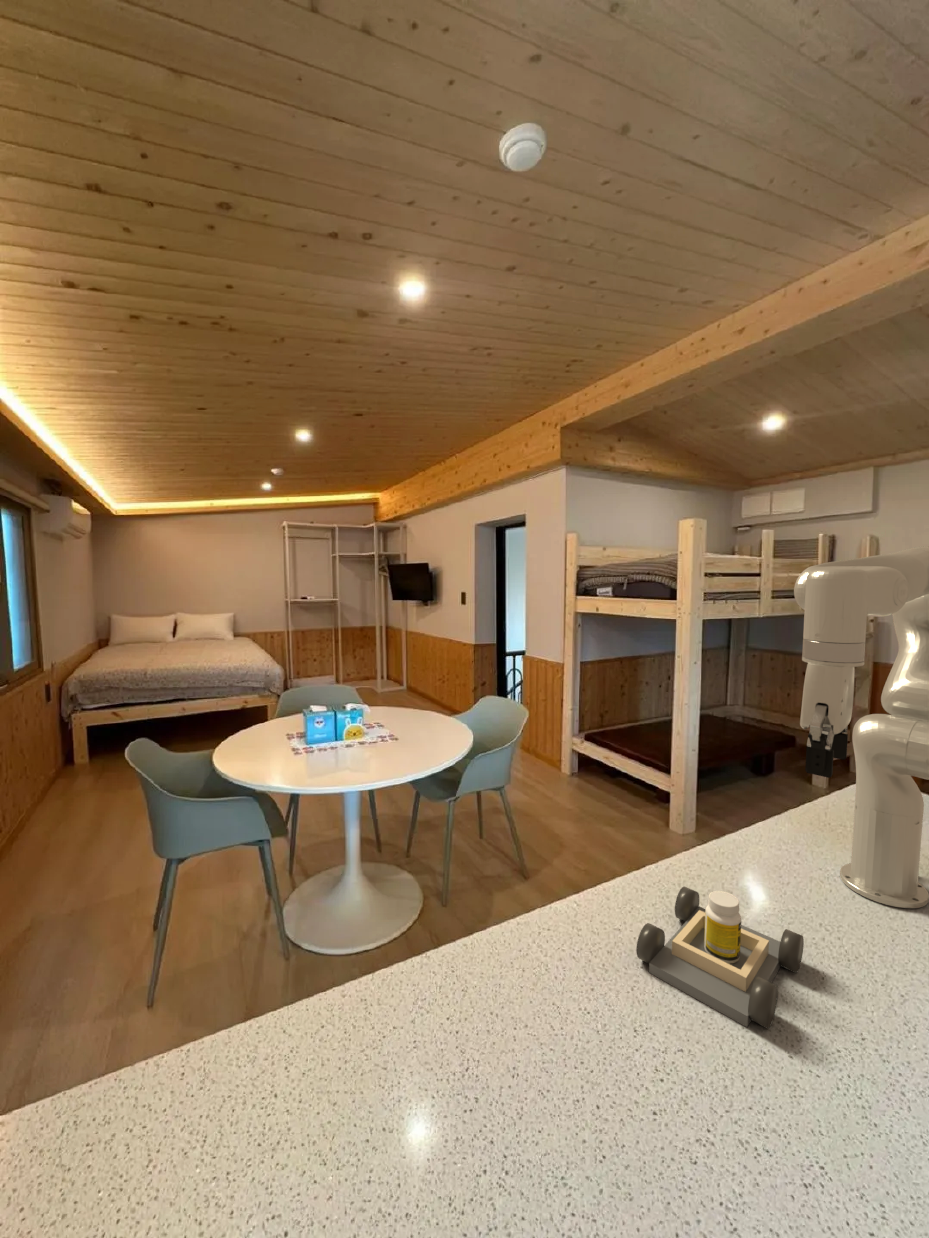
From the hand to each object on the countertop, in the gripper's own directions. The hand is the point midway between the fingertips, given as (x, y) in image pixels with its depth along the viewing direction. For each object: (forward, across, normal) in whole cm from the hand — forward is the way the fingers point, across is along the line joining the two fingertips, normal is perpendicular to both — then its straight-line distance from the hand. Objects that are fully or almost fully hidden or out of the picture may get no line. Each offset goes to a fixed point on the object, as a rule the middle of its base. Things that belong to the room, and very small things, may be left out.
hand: (826, 765), depth 79 cm
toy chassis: (+28, +15, -9) cm, 33 cm away
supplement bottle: (+27, +15, -9) cm, 32 cm away
